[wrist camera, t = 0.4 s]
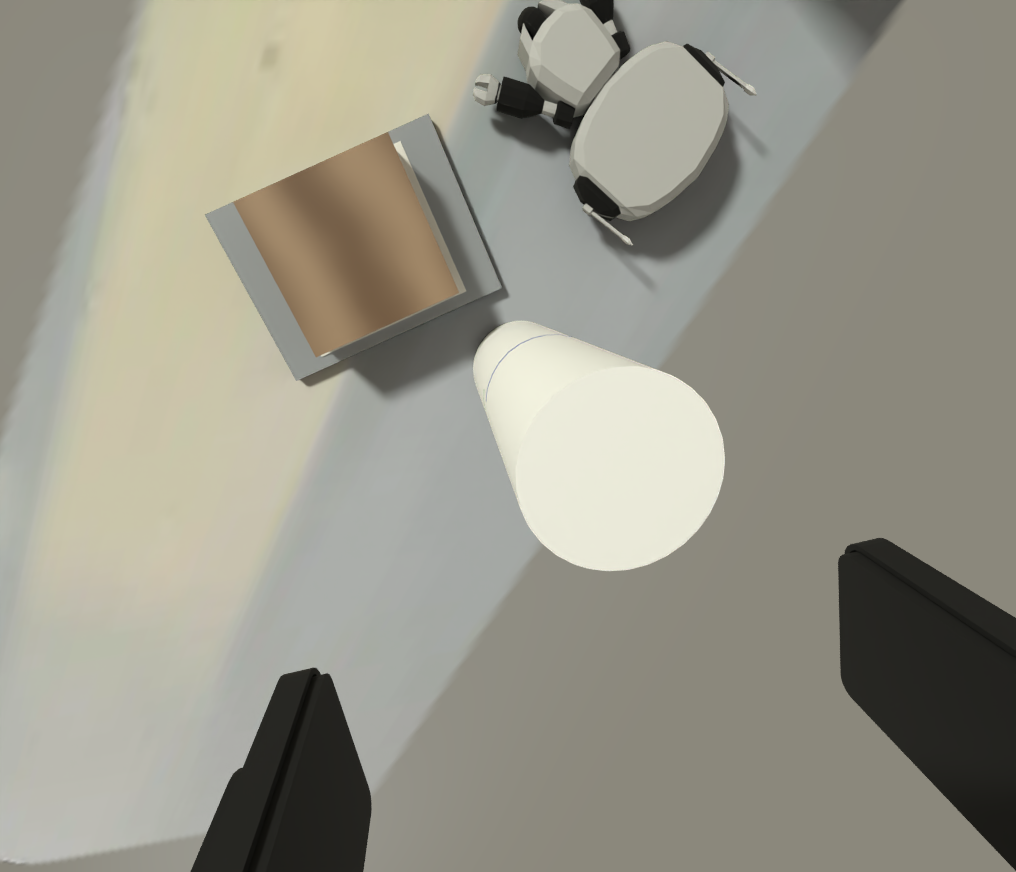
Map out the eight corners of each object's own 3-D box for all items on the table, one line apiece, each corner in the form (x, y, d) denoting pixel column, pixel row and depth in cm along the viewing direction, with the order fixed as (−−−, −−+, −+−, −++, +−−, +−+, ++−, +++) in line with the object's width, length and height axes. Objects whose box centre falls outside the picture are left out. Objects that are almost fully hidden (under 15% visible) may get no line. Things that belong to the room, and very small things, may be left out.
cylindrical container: (578, 334, 43) (755, 396, 19) (552, 424, 44) (683, 587, 20) (486, 309, 42) (550, 340, 18) (462, 402, 43) (490, 548, 19)
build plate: (428, 117, 38) (428, 113, 37) (500, 287, 41) (502, 288, 41) (209, 216, 38) (204, 214, 37) (299, 379, 41) (296, 381, 41)
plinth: (393, 147, 37) (387, 131, 34) (457, 292, 40) (459, 292, 36) (254, 210, 37) (232, 201, 34) (327, 350, 40) (316, 357, 36)
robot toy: (460, 111, 39) (621, 257, 42) (458, 85, 35) (639, 251, 37) (576, -44, 38) (737, 118, 40) (590, -92, 33) (769, 93, 36)
